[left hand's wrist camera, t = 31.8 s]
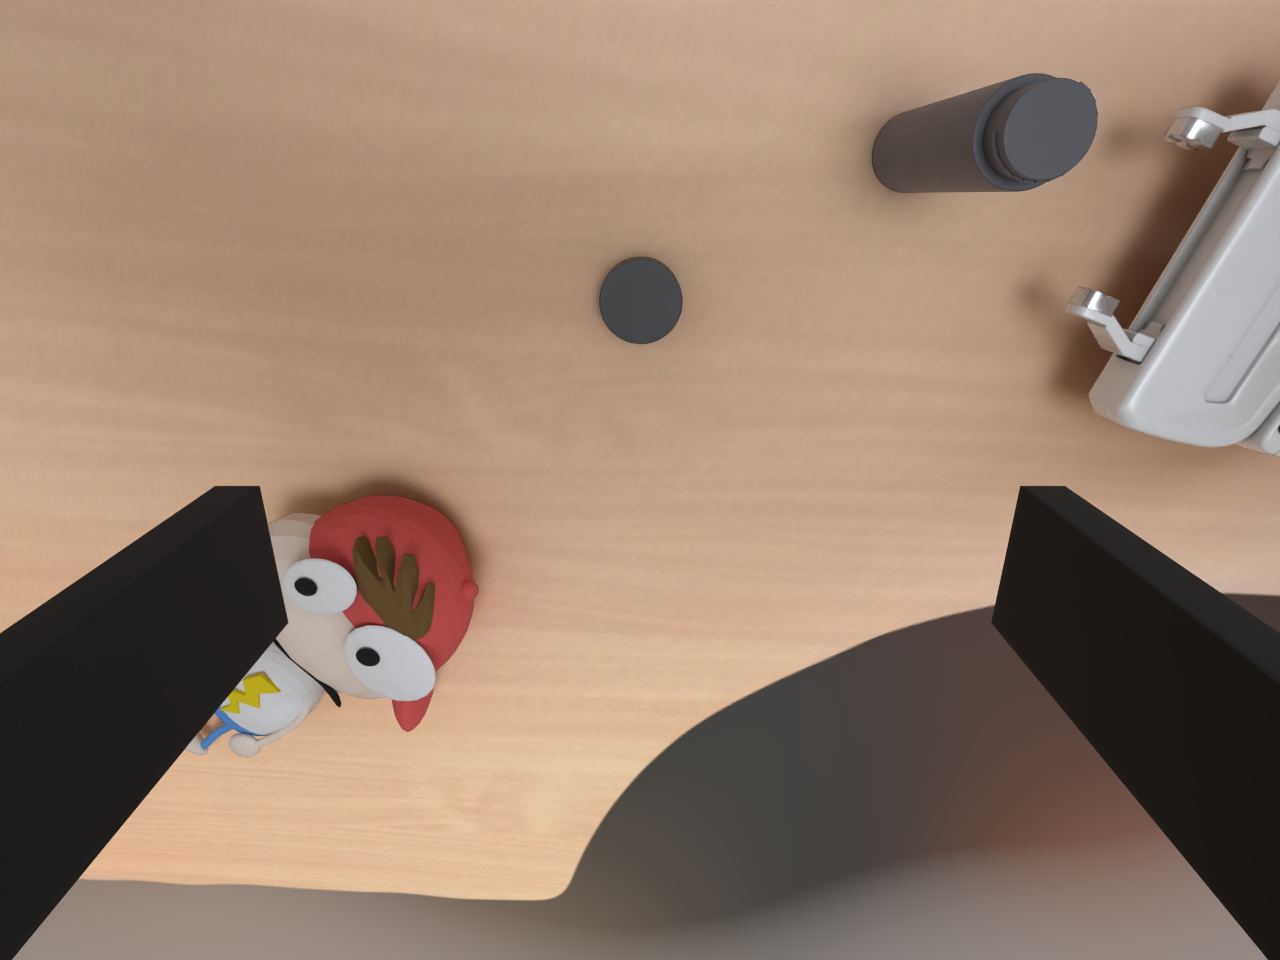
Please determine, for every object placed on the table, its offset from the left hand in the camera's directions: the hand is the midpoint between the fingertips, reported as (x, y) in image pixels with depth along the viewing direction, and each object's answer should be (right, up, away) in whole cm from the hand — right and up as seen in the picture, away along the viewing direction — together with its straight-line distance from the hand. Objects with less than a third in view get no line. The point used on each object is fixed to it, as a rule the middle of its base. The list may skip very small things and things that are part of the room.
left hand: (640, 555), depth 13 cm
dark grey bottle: (+16, +21, +30) cm, 40 cm away
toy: (-24, -9, +42) cm, 50 cm away
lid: (0, +12, +32) cm, 34 cm away
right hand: (+26, +15, +26) cm, 40 cm away
